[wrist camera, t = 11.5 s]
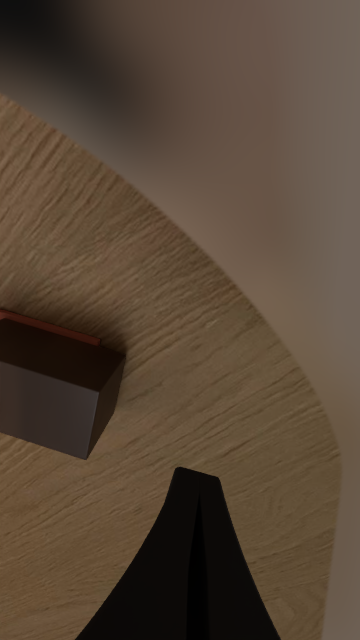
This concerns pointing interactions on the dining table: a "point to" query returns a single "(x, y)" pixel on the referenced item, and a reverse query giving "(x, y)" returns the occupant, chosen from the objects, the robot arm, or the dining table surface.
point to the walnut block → (56, 388)
